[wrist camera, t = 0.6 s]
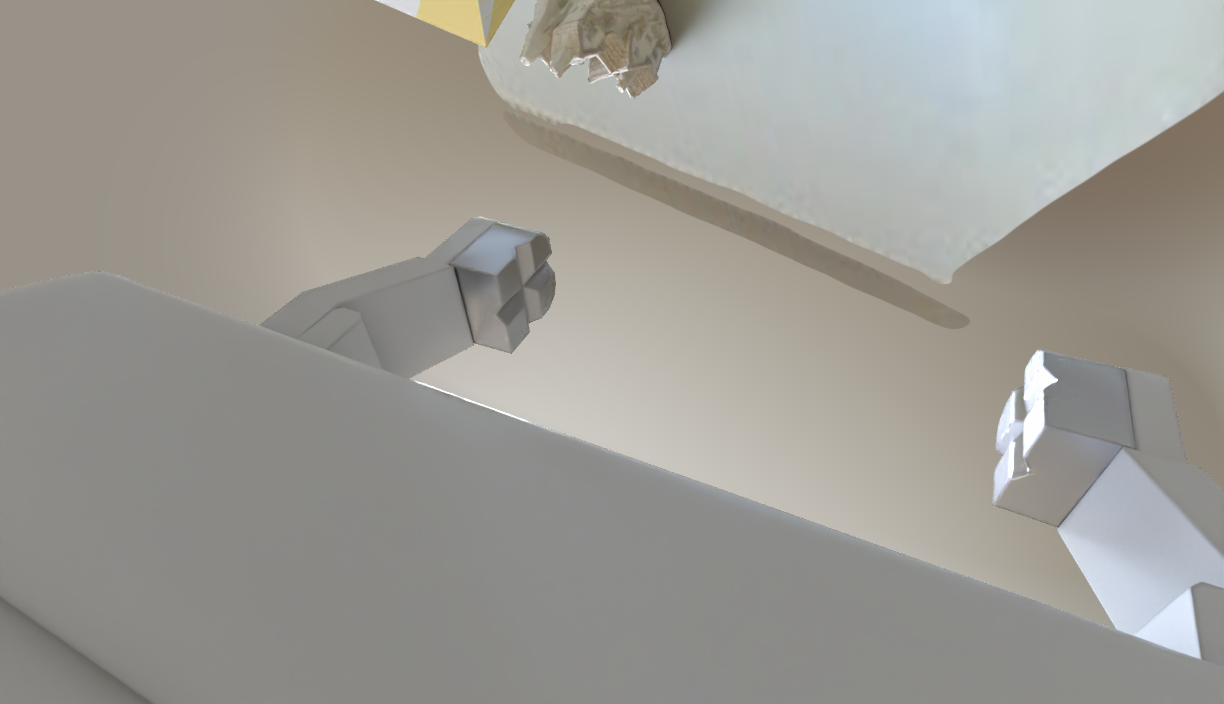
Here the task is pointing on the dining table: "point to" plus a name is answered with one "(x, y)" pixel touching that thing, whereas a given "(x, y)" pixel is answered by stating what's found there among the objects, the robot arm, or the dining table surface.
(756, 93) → the dining table surface
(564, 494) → the robot arm
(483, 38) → the pasta box
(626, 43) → the beige jagged chunky piece
